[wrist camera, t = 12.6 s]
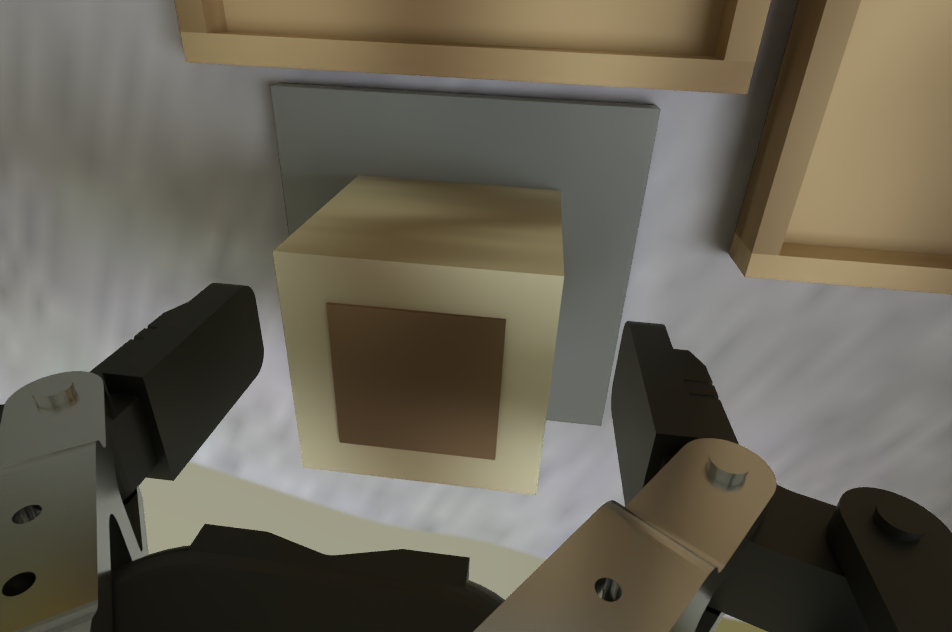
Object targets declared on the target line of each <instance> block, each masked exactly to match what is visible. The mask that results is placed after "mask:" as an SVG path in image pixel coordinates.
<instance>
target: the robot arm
mask: <svg viewBox="0 0 952 632" xmlns="http://www.w3.org/2000/svg"><path fill="white" fill-rule="evenodd" d="M263 357H264V347H263V341H262V335H261V329H260V323H259V317H258V311H257V305H256V299H255V295H254V292H253V290H252V289H251V288H250V287H249V286H245V285H233V284H222V283H212V284H210V285H209V286H208V287H206V288H205V289H204V290H203V291H201V292H200V293H199V294H198V295H197V296H195V297H194V298H193V299H192V300H190V301H189V302H187V303H185V304H183V305H180V306H178V307H176V308H174V309H172V310H169V311H167V312H165V313H163V314H162V315H161V316H159V317H158V318H157V319H156V320H154V321H153V322H152V323H151V324H149V325H148V328H147V329H145V328H144V329H143V330H142V331H141V332H139V333H138V334H137V335H136V336H134V340H132V339H130V340H129V341H128V342H127V343H125V344H124V345H123V346H122V347H120V348H119V349H118V350H117V351H115V352H114V353H113V354H112V355H110V356H109V357H108V358H107V359H105V360H104V361H103V362H102V363H100V364H99V365H98V366H96V367H95V368H94V369H93V370H91V371H90V372H84V371H71V372H63V373H58V374H54V375H50V376H47V377H44V378H41V379H38V380H36V381H33V382H31V383H29V384H27V385H25V386H23V387H22V388H20V389H19V390H17V391H16V392H15V393H13V394H12V395H11V396H10V397H9V398H8V400H7V401H6V403H5V404H3V405H0V632H714V630H715V629H716V627H717V626H718V624H719V622H720V621H721V619H722V618H723V616H724V614H728V615H730V616H732V617H735V618H737V619H739V620H742V621H744V622H747V623H749V624H751V625H754V626H756V627H759V628H761V629H763V630H766V631H768V632H952V533H951V532H950V530H949V529H948V528H947V527H946V526H945V525H944V524H943V523H942V522H941V521H940V520H939V519H938V518H937V517H936V516H935V515H933V514H932V513H931V512H929V511H928V510H927V509H925V508H924V507H922V506H920V505H919V504H917V503H915V502H914V501H912V500H909V499H907V498H905V497H903V496H901V495H898V494H896V493H893V492H890V491H886V490H882V489H877V488H869V487H859V488H854V489H851V490H848V491H846V492H845V493H844V494H843V495H842V497H841V498H840V500H839V502H838V504H837V506H834V505H831V504H828V503H825V502H822V501H819V500H816V499H813V498H810V497H807V496H804V495H801V494H798V493H795V492H792V491H790V490H787V489H785V488H783V487H781V486H779V485H777V484H776V478H775V476H774V473H773V471H772V470H771V468H770V467H769V466H768V465H767V463H766V462H765V461H764V460H763V459H761V458H760V457H759V456H758V455H756V454H755V453H753V452H752V451H750V450H749V449H747V448H745V447H743V446H741V445H739V444H738V441H737V439H736V437H735V434H734V432H733V430H732V427H731V425H730V422H729V420H728V418H727V415H726V413H725V411H724V408H723V406H722V404H721V401H720V400H718V394H717V392H716V390H715V387H714V386H712V380H711V378H710V375H709V373H708V371H707V368H706V366H705V365H704V364H703V363H702V362H701V361H700V360H699V359H697V358H696V357H695V356H694V355H693V354H692V353H691V352H690V351H689V350H678V349H673V347H672V344H671V342H670V339H669V336H668V333H667V330H666V327H665V325H663V324H654V323H643V322H632V321H627V322H626V323H625V326H624V329H623V334H622V339H621V344H620V349H619V355H618V360H617V365H616V370H615V375H614V381H613V387H612V397H611V411H612V419H613V426H614V432H615V439H616V446H617V453H618V460H619V467H620V474H621V480H622V487H623V494H624V501H625V507H623V506H622V505H620V504H619V503H617V502H616V501H613V500H612V501H608V502H606V503H605V504H604V505H602V506H601V507H600V508H599V509H598V510H597V511H596V512H595V513H594V514H593V515H592V516H591V517H590V518H589V519H588V520H587V521H586V522H585V523H584V524H583V525H582V526H581V527H580V528H579V529H577V530H576V531H575V532H574V533H573V534H572V535H571V536H570V537H569V538H568V539H567V540H566V541H565V542H564V543H563V544H562V545H561V546H560V547H559V548H558V549H557V550H556V551H555V552H554V553H553V554H552V555H551V556H550V557H549V558H548V559H547V560H546V561H545V562H544V563H543V564H542V565H541V566H540V567H539V568H538V569H537V570H536V571H535V572H534V573H533V574H532V575H531V576H530V577H529V578H528V579H526V580H525V581H524V582H523V583H522V584H521V585H520V586H519V587H518V588H517V589H516V590H515V591H514V592H513V593H512V594H511V595H510V596H509V597H508V598H507V599H506V600H504V599H503V598H501V597H500V596H499V595H497V594H496V593H494V592H492V591H491V590H489V589H487V588H485V587H483V586H481V585H479V584H477V583H474V582H472V581H470V580H468V578H469V558H468V557H460V556H452V555H444V554H436V553H429V552H421V551H413V550H405V549H399V550H389V551H378V552H368V553H356V554H346V555H332V556H331V555H325V554H321V553H319V552H316V551H314V550H312V549H309V548H307V547H304V546H302V545H299V544H296V543H294V542H292V541H289V540H287V539H284V538H282V537H279V536H277V535H274V534H272V533H269V532H264V531H257V530H249V529H241V528H233V527H225V526H217V525H210V524H205V525H204V526H203V527H202V529H201V530H200V532H199V534H198V535H197V536H196V538H195V539H194V541H193V543H192V544H191V545H190V546H183V547H178V548H172V549H167V550H164V551H160V552H157V553H153V554H150V555H149V554H148V545H147V536H146V526H145V516H144V507H143V498H142V494H141V492H140V489H139V485H140V483H141V482H142V481H143V480H144V479H145V478H146V477H147V478H155V479H164V480H172V481H174V480H175V478H176V477H177V476H178V475H179V473H180V472H181V470H182V469H183V468H184V467H185V466H186V464H187V463H188V462H189V461H190V459H191V458H192V457H193V456H194V454H195V453H196V452H197V451H198V449H199V448H200V447H201V446H202V444H203V443H204V442H205V441H206V439H207V438H208V437H209V436H210V434H211V433H212V432H213V431H214V429H215V428H216V427H217V425H218V424H219V423H220V422H221V420H222V419H223V418H224V417H225V415H226V414H227V413H228V412H229V410H230V409H231V408H232V407H233V405H234V404H235V403H236V402H237V400H238V399H239V398H240V397H241V395H242V394H243V393H244V392H245V390H246V389H247V388H248V387H249V385H250V384H251V383H252V381H253V380H254V379H255V378H256V376H257V375H258V373H259V372H260V369H261V366H262V363H263Z"/></svg>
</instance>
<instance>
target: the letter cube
mask: <svg viewBox="0 0 952 632" xmlns="http://www.w3.org/2000/svg"><path fill="white" fill-rule="evenodd" d="M273 258H274V265H275V272H276V279H277V286H278V294H279V301H280V308H281V315H282V322H283V329H284V336H285V343H286V350H287V357H288V364H289V371H290V378H291V385H292V392H293V399H294V406H295V413H296V420H297V427H298V434H299V441H300V448H301V455H302V462H303V467H304V468H312V469H320V470H329V471H337V472H346V473H354V474H363V475H371V476H380V477H388V478H397V479H405V480H414V481H422V482H430V483H439V484H447V485H456V486H464V487H473V488H481V489H490V490H498V491H507V492H515V493H523V494H532V495H536V493H537V485H538V477H539V469H540V461H541V454H542V446H543V438H544V430H545V422H546V415H547V407H548V399H549V391H550V383H551V376H552V368H553V360H554V352H555V345H556V337H557V329H558V321H559V313H560V306H561V298H562V290H563V282H564V260H563V237H562V215H561V193H560V190H550V189H537V188H523V187H510V186H496V185H483V184H469V183H456V182H442V181H429V180H415V179H402V178H388V177H375V176H361V175H358V176H357V177H356V178H355V179H354V180H353V181H352V182H350V183H349V184H348V185H347V186H346V187H345V188H344V189H342V190H341V191H340V192H339V193H338V194H337V195H336V196H335V197H333V198H332V199H331V200H330V201H329V202H328V203H327V204H325V205H324V206H323V207H322V208H321V209H320V210H319V211H318V212H316V213H315V214H314V215H313V216H312V217H311V218H310V219H308V220H307V221H306V222H305V223H304V224H303V225H302V226H301V227H299V228H298V229H297V230H296V231H295V232H294V233H293V234H291V235H290V236H289V237H288V238H287V239H286V240H285V241H284V242H282V243H281V244H280V245H279V246H278V247H277V248H276V249H274V250H273Z"/></svg>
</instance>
